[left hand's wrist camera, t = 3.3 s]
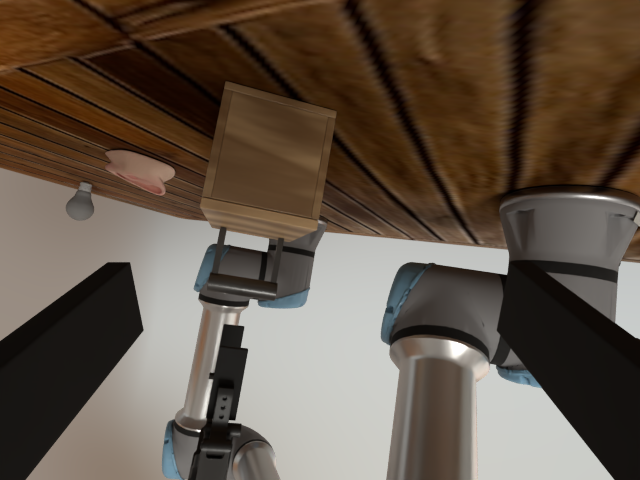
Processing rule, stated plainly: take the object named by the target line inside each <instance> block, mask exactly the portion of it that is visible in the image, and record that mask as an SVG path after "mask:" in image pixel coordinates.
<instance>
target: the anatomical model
mask: <svg viewBox="0 0 640 480" xmlns="http://www.w3.org/2000/svg"><path fill="white" fill-rule="evenodd" d="M105 154H106V155H107V156H108V158H109V159H110V160H111V163H109V164H107V165H106V166H105V169H106V170H108V171H109V172H111V173H113V174H115V175H117V176H119V177H120V178H122V179H124V180H126V181H128V182H130V183H132V184H134V185H136V186H138V187H140V188H142V189H144V190H147V191H149V192H151V193H154V194H156V195H164V194H165V186H164V182H165V181H167V180H169V179H171V178H172V177H173V176H174V175H175V170H174V169H173V168H172V167H171V166H169V165H167V164H165V163H163V162H160V161H158V160H155V159H153V158H150V157H147V156H144V155H141V154H138V153H135V152H131V151H127V150H111V151H107V152H105Z"/></svg>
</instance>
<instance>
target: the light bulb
mask: <svg viewBox="0 0 640 480" xmlns="http://www.w3.org/2000/svg"><path fill="white" fill-rule="evenodd" d="M91 187H92V185H91V184H90V183H88V182H81V183H80V187H79V189H78V191H77V192H76V194H75V196H74V197H73V198H72V199H70V200H69V201H68V203H67V205H66V211H67V213H68V215H69V216H70V217H71V218H73V219H75V220H86V219H88V218H90V217H91V216H92V214H93V213H94V206H93V203H92V200H91Z"/></svg>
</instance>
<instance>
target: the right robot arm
mask: <svg viewBox="0 0 640 480" xmlns="http://www.w3.org/2000/svg"><path fill="white" fill-rule="evenodd" d="M327 221H328V220H327V219H326V218H324V217H322V216H319V220H318V227H317V230H316V231H313V232H311V233H309V234H307V235H304V236H302V237H300V238H298V239H295V240H293V241H291V242H286V241H284V243H283V249H282V255H281V260H280V266H279V272H278V277H277V283H278V288H277V295H276V298H275V301H271V300H264V299H258V298H251V297H244V296H237V295H231V294H224V293H217V292H211V291H207V284H208V279H209V275H210V272H212V268H213V262H214V257H215V252H216V247H217V244H212V245H210V246H209V247H208V249H207V251H206V253H205V256H204V259H203V261H202V264H201V267H200V270H199V273H198V276H197V279H196V283H195V286H194V290H195V291H197V292H200V293H199V298H198V300H199V301H200V302H201V304H202V305H203V307H204V308H203V313H202V318H201V323H200V329H199V334H198V339H197V344H196V349H195V354H194V359H193V364H192V369H191V374H190V379H189V384H188V390H187V395H186V400H185V405H184V408H182V409H181V410H179V411H178V412H177V414H176V416H175V420H171V421H169V422H168V424H167V427H166V432H165V439H164V446H163V456H162V471H163V474H164V476H165V477H167V478H170V479H180V480H185V479H188V480H280V478H279V475H278V473H277V470H276V456H275V453H274V451H273V449H272V447H271V445H270V444H269V442H268V441H267V440H266V439H265V438H264V437H262V436H261V435H260V434H259V433H257V432H256V431H254V430H252V429H250V428H248V427H246V426H243V425H241V424H238V423H228V421H229V420H235V419H236V413H237V408H238V402H239V397H240V391H241V386H242V380H243V375H244V369H245V364H246V358H247V353H248V349H246V348H241V342H242V337H243V331H244V326H238V323H239V318H240V313H241V312H242V311H243V310H244V309H246V308H247V307H248V305H249V300H250V299H256V300H258V305H259V306H261V307H269V308H298V307H301V306H303V305H304V304H305V303H306V300H307V296H308V291H309V289H310V287H309V286H310V280H311V274H312V267H313V261H314V255H315V249H316V247H317V245H318V243H319V241H320V239H321V237H322V235H323V233H324V231H325V229H326V227H327ZM277 241H278V240H276V239H270V238H269V246H268V251H267V252H262V251H257V250H252V249H246V248H241V247H235V246H231V245H223V251H222V256H221V261H220V266H219V271H218V273H219V274H225V275H232V276H238V277H244V278H250V279H257V280H263V281H269V282H270V280H271V275H272V269H273V263H274V258H275V252H276V247H277Z"/></svg>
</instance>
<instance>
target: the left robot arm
mask: <svg viewBox="0 0 640 480" xmlns="http://www.w3.org/2000/svg"><path fill="white" fill-rule="evenodd" d="M499 212H500V219H501V223H502V227H503V231H504V235H505V239H506V243H507V247H508V251H509V267H508V273H507V275H503V274H496V273H490V272H483V271H476V270H469V269H462V268H456V267H449V266H442V265H436V264H435V263H429V264H424V263H414V262H410V263H406V264H404V265H403V266H401V267H400V268H399V270H398V272H397V274H396V276H395V279H394V281H393V284H392V287H391V290H390V294H389V297H388V301H387V308H386V310H385V314H384V317H383V322H382V328H381V339H382V341H383V342H385V343H387V344H389V345H390V358H391V360H392V361H393V362H394V364H395V365H396V366H397V367H398V369H399V370H400V372H399V380H398V388H397V397H396V405H395V413H394V421H393V429H392V438H391V446H390V454H389V462H388V471H387V479H386V480H478V468H477V415H476V382H478V381H479V380H480V379H482V378H483V377H485V376H486V375H487V373H488V372H489V369H490V364H495V365H496V369H497V370H498V374H499V375H500V376H501V377H502V378H504V379H506V380H509V381H512V382H515V383H519V384H527V385H531V386H533V387H539V388H542V389H543V390H544V391H545V392H546V394H547V395H548V396H549V397H550V399H551V400H552V401H553V403H554V404H555V405H556V406H557V408H558V409H559V410H560V411H561V413H562V414H563V415H564V416H565V418H566V419H567V420H568V422H569V423H570V424H571V425H572V427H573V428H574V429H575V430H576V432H577V433H578V434H579V435H580V437H581V438H582V439H583V440H584V442H585V443H586V444H587V446H588V447H589V448H590V449H591V451H592V452H593V453H594V454H595V456H596V457H597V458H598V459H599V461H600V462H601V463H602V465H603V466H604V467H605V468H606V470H607V471H608V472H609V473H610V475H611V476H612V477H613V478H614V480H640V339H638V338H635V337H633V336H632V335H631V334H629V333H628V332H627V331H625V330H624V329H622V328H621V327H620V326H618V325H617V324H616V323H615V315H616V299H617V280H618V268H619V266H620V263H621V259H622V257H623V255H624V253H625V251H626V249H627V247H628V245H629V243H630V241H631V239H632V237H633V235H634V233H635V231H636V229H637V227H638V225H639V226H640V197H638V196H636V195H634V194H631V193H628V192H625V191H620V190H615V189H609V188H601V187H590V186H550V187H538V188H531V189H525V190H520V191H516V192H513V193H510V194H508V195H506V196H504V197H503V198H502V199H501V201H500V210H499ZM142 332H143V325H142V320H141V315H140V310H139V305H138V300H137V295H136V290H135V285H134V280H133V275H132V270H131V265H130V262H108V263H106V264H105V265H104V266H102V267H101V268H99V269H98V270H97V271H95V272H94V273H93V274H91V275H90V276H89V277H87V278H86V279H84V280H83V281H82V282H80V283H79V284H78V285H76V286H75V287H74V288H72V289H71V290H69V291H68V292H67V293H65V294H64V295H63V296H61V297H60V298H59V299H57V300H56V301H54V302H53V303H52V304H50V305H49V306H48V307H46V308H45V309H43V310H42V311H41V312H39V313H38V314H37V315H35V316H34V317H33V318H31V319H30V320H28V321H27V322H26V323H24V324H23V325H22V326H20V327H19V328H18V329H16V330H15V331H13V332H12V333H11V334H9V335H8V336H7V337H5V338H4V339H3V340H1V341H0V480H26V478H27V477H28V476H29V475H30V473H31V472H32V471H33V470H34V468H35V467H36V466H37V465H38V463H39V462H40V461H41V459H42V458H43V457H44V456H45V454H46V453H47V452H48V451H49V449H50V448H51V447H52V446H53V444H54V443H55V442H56V440H57V439H58V438H59V437H60V435H61V434H62V433H63V432H64V430H65V429H66V428H67V427H68V425H69V424H70V423H71V421H72V420H73V419H74V418H75V416H76V415H77V414H78V413H79V411H80V410H81V409H82V408H83V406H84V405H85V404H86V403H87V401H88V400H89V399H90V397H91V396H92V395H93V394H94V392H95V391H96V390H97V389H98V387H99V386H100V385H101V383H102V382H103V381H104V380H105V378H106V377H107V376H108V375H109V373H110V372H111V371H112V370H113V368H114V367H115V366H116V365H117V363H118V362H119V361H120V359H121V358H122V357H123V356H124V354H125V353H126V352H127V351H128V349H129V348H130V347H131V345H132V344H133V343H134V342H135V341H136V339H137V338H138V337H139V335H140V334H141V333H142Z"/></svg>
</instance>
